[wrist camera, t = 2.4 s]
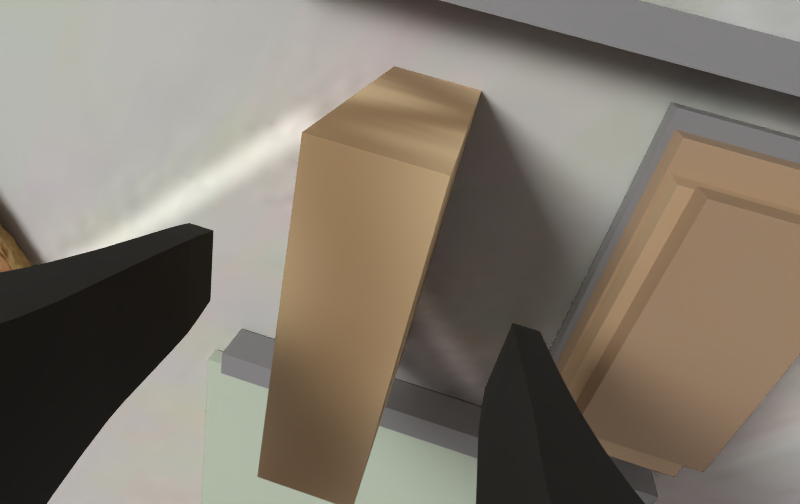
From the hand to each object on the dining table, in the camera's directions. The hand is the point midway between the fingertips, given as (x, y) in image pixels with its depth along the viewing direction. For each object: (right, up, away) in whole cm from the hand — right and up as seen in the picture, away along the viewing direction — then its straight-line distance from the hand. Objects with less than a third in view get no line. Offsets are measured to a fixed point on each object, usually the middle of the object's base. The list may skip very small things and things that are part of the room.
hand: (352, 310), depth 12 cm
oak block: (+1, +2, +5) cm, 5 cm away
